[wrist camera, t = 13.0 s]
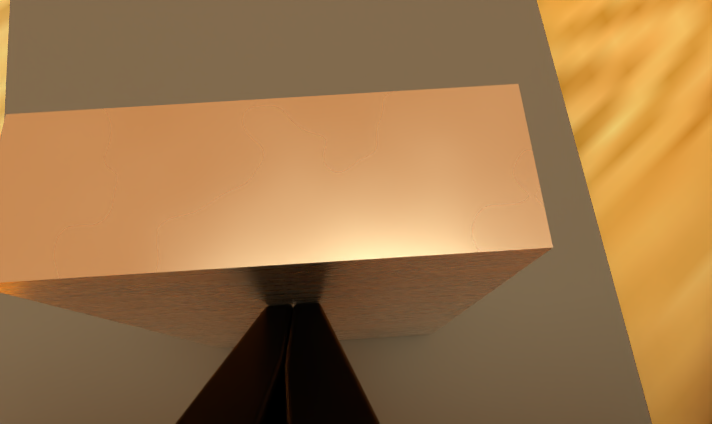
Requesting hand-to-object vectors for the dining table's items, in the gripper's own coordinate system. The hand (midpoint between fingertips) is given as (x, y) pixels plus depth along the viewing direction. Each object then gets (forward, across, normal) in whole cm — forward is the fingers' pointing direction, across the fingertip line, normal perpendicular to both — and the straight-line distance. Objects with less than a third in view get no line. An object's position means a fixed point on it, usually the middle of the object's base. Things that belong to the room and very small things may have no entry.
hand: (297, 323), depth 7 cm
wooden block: (+5, 0, +4) cm, 6 cm away
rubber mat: (+8, +1, +2) cm, 8 cm away
